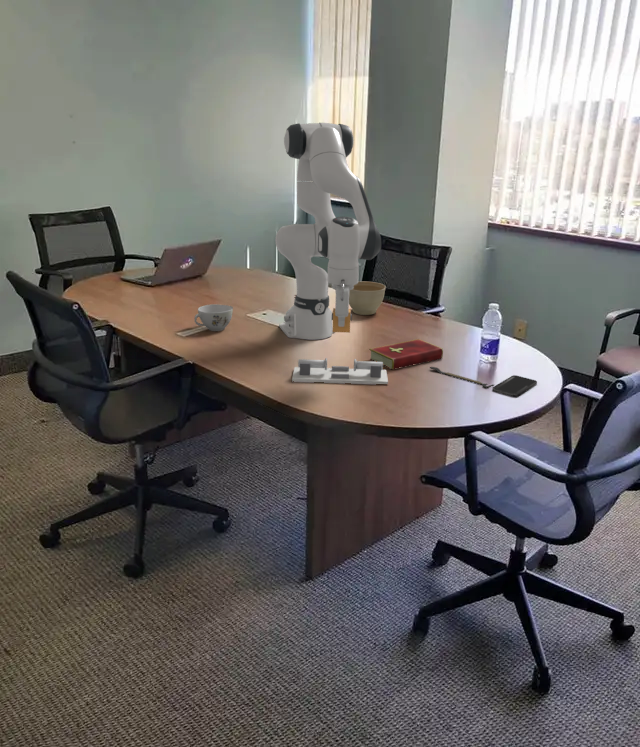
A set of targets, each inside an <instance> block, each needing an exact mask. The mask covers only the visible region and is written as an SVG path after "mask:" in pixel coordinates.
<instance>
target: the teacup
mask: <svg viewBox="0 0 640 747" xmlns="http://www.w3.org/2000/svg"><path fill="white" fill-rule="evenodd" d="M233 309H234V307H233V306H232V305H228V304H214V303H213V304H206V305H203V306H199V307H198V308H197V314H195V316H194V323H195V325H197V326H199V327H205V328H207V329H208V330H209V331H211V332H220V331H224V330H225V328H226V327H228V325H229V324H230V322H231V320H232V316H233ZM198 318H199V320H200V322H201V323H199V322H198V321H197V320H198Z"/></svg>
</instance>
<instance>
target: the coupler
mask: <svg viewBox="0 0 640 747" xmlns="http://www.w3.org/2000/svg"><path fill="white" fill-rule="evenodd" d="M351 309H352V308H349V312H348V316H347V317H345V325H344V327H339V326H338V316H336V315H335V307H333V311H332V328H333V333H351V322H352V320H353V318H352V317H353V314H352V312H351Z"/></svg>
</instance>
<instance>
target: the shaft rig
mask: <svg viewBox="0 0 640 747" xmlns="http://www.w3.org/2000/svg"><path fill="white" fill-rule="evenodd" d="M297 360H298V361H297V366H294V367H293V373H292V377H291V381H292V383H314V382H324V383H323V384H345V383H351V385H376V384H388V385H389V379H388V372H387V369H383V368H384V365H383V362H376V361H373V360H371V361H365V360H363V361H362V360H361V361H359V360H357V358H354V359H353V368H350V366H342V365H341V366H340V365H332V366H331V367H328V358H327V357H325V359H305V358H304V359H303V358H302V359H299V358H298V359H297ZM293 381H294V382H293Z"/></svg>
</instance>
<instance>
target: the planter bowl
mask: <svg viewBox="0 0 640 747" xmlns="http://www.w3.org/2000/svg"><path fill="white" fill-rule="evenodd" d="M385 291H386V285H385V284H383V283H380V282H375V281H374V282H373V281H362V280H360V281H358V283H357V284H355V285H354V288H353V289H352V290H350V291H349V307H350V309H352V313H354V314H355V315H356V314H357V315H361V316H370V315H374V314H376V312H377V310H378V309H379V307H380V306H381V305H382V303H383V301H384V297H385V294H386V293H385Z"/></svg>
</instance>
